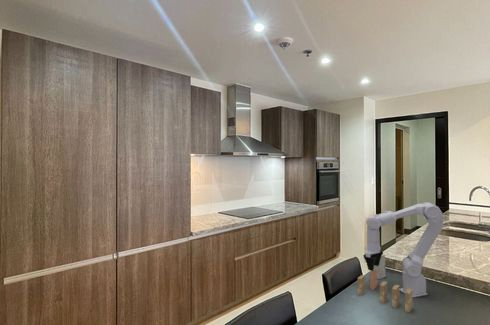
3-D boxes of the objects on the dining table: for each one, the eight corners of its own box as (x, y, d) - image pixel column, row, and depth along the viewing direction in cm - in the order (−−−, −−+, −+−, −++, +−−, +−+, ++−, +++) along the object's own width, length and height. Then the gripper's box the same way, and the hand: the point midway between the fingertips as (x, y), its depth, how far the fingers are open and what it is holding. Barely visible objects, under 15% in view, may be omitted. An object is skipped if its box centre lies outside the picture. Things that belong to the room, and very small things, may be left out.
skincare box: (379, 279, 143) (379, 257, 142) (371, 276, 146) (371, 254, 146) (386, 276, 146) (385, 254, 146) (378, 273, 150) (377, 252, 150)
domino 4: (399, 303, 119) (399, 285, 119) (396, 308, 115) (396, 289, 115) (395, 302, 120) (395, 284, 120) (392, 306, 117) (391, 288, 117)
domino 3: (387, 299, 123) (387, 282, 122) (383, 303, 119) (383, 285, 119) (383, 298, 124) (383, 281, 124) (380, 302, 120) (379, 284, 120)
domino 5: (412, 307, 115) (412, 289, 115) (409, 312, 112) (409, 293, 112) (408, 306, 117) (408, 288, 116) (405, 311, 113) (404, 292, 113)
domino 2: (377, 286, 135) (377, 270, 135) (373, 289, 132) (373, 273, 132) (373, 285, 136) (373, 269, 136) (370, 288, 133) (369, 272, 133)
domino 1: (365, 292, 130) (365, 275, 130) (361, 295, 126) (360, 279, 126) (361, 291, 131) (361, 274, 131) (357, 294, 127) (357, 277, 127)
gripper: (370, 236, 142) (370, 261, 142) (359, 242, 132) (359, 269, 132) (384, 238, 137) (385, 265, 137) (374, 245, 127) (374, 274, 127)
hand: (373, 267), depth 134 cm, fingers open, 7 cm apart
